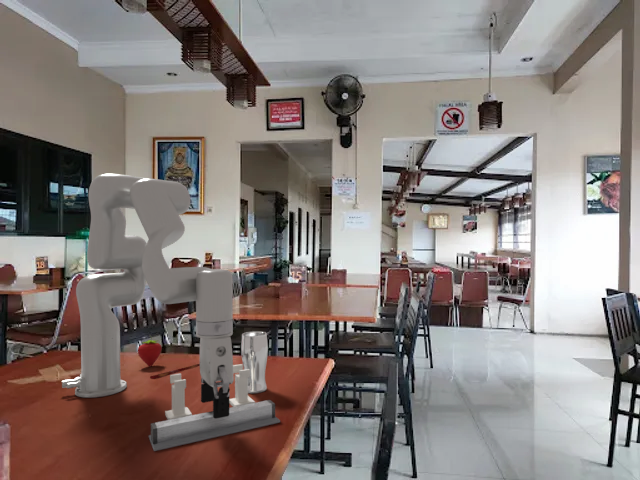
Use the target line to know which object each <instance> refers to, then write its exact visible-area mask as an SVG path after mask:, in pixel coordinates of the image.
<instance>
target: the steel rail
mask: <svg viewBox="0 0 640 480" xmlns="http://www.w3.org/2000/svg"><path fill="white" fill-rule="evenodd" d="M275 417H276V403H275V402H273V401H272V400H271V399H267V400H262V401H258V402H257V401H255V403H251V404H246V405H241V406H236V407H233V406H231V407H229V416H227V417H222V418H217V419H215V418H214V417H213V410H212V411H208V412H207V411H206V412H202V413H201V412H200V413H197V414H192V415H191V416H186V417H181V418H176V419H171V420H168V419H166V420H162V421H157V422H152V423H150V435H151V440H152V443H153V444H158V443H162V442H167V441H171V440H176V439H180V438H185V437H189V436H194V435H198V434H203V433H207V432H212V431H216V430H221V429H225V428H230V427H234V426H239V425H243V424H248V423H252V422H257V421H261V420H266V419H270V418H275Z"/></svg>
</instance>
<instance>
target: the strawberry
mask: <svg viewBox="0 0 640 480" xmlns="http://www.w3.org/2000/svg"><path fill="white" fill-rule="evenodd" d="M149 337H150V338H151V340H150V339H148V340H146V341H142V342H141V343H142V344H141V345H140V346H138V348H137V354H138V357H139V358H140V359H141V360H142V362H144V363H145V364H146V366H148V367H152V366H154V363H155V362H156V361H157V359H158V358H159V357H160V355H161V353H162V349H163V348H162V344H160V343H159V342H158V340H153V337H152V336H151V335H149Z"/></svg>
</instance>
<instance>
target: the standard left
mask: <svg viewBox="0 0 640 480" xmlns="http://www.w3.org/2000/svg"><path fill="white" fill-rule="evenodd" d="M169 383H170V384H171V409H169V410H164V414H165V418H166V420H171V419H176V418H181V417H186V416H191V415H193V414H192V412H191V410H190V409H189V408H188V407H187V406H186V405H185V404H186V403H185V402H186V401H185V399H186V398H185V397H186V395H185V393H186V392H185V389H187V379H185V378H184V379H182V373H180V372H179V373H173V374H170V375H169Z"/></svg>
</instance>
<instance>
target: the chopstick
mask: <svg viewBox="0 0 640 480" xmlns="http://www.w3.org/2000/svg"><path fill="white" fill-rule="evenodd" d="M196 367H200V363H197V364H194V365H189V366H186V367H185V366H184V367H181V368H177V369H175V370H173V369H172V370H171V371H165V372H161V373H158V374H154V375H150V379H152V380H155V379H159V378H162V377H165V376H170V375H173V374H177V373H180V372H182V371H186V370H189V369H193V368H196Z"/></svg>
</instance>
